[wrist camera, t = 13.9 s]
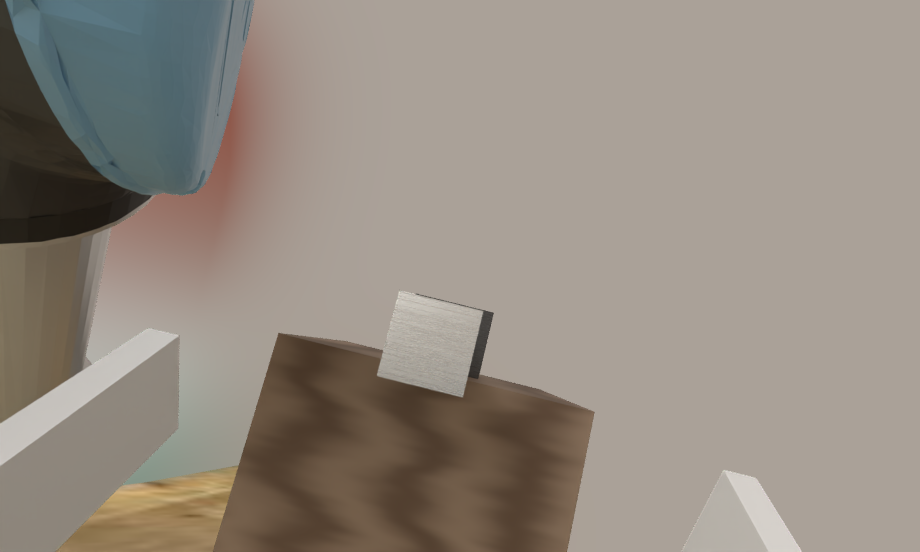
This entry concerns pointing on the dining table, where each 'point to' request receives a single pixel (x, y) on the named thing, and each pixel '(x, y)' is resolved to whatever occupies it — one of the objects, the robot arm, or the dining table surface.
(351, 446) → the pedestal
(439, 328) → the light grey rectangular bar
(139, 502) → the dining table surface
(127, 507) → the dining table surface
